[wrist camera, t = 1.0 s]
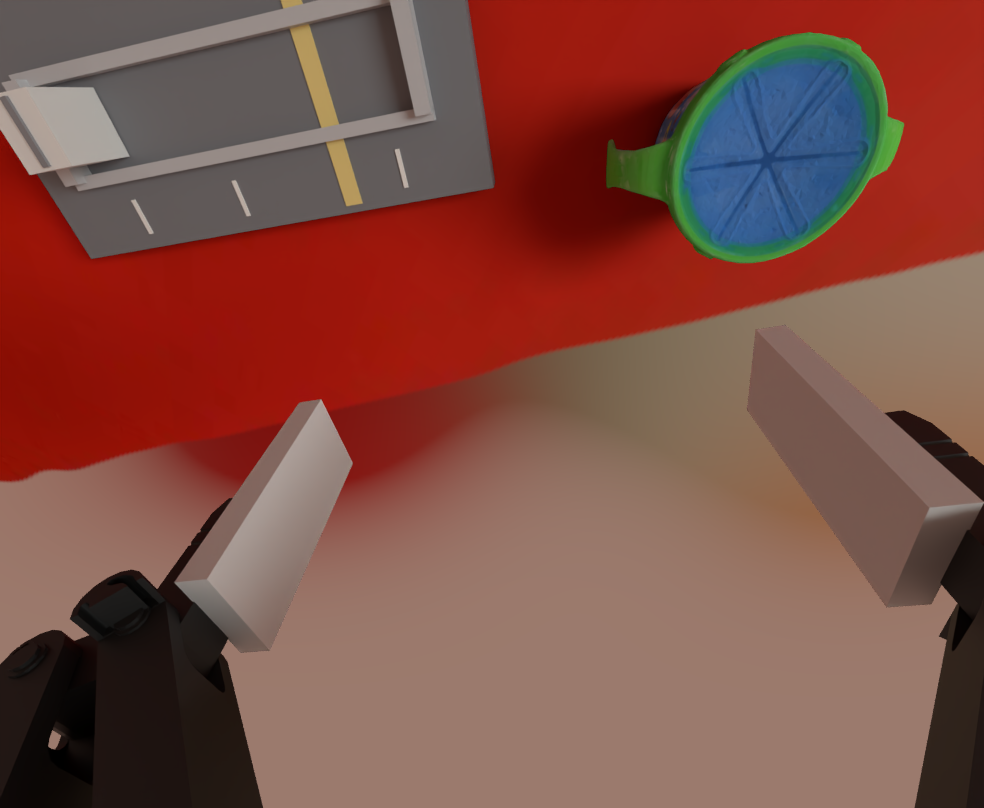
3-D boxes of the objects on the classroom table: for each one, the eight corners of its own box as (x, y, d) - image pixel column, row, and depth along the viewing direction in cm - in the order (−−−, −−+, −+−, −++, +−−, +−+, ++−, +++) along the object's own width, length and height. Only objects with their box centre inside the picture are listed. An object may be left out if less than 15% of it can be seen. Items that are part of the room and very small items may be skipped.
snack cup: (857, 49, 29) (995, 32, 21) (794, 225, 35) (882, 268, 27) (605, 47, 30) (641, 30, 21) (585, 221, 36) (606, 261, 27)
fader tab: (53, 96, 30) (-24, 97, 26) (93, 87, 30) (21, 86, 26) (91, 164, 33) (26, 175, 28) (129, 156, 32) (69, 166, 28)
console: (-39, -1, 30) (-108, -12, 27) (447, -133, 26) (437, -166, 22) (113, 250, 39) (75, 265, 35) (494, 182, 34) (492, 192, 31)
